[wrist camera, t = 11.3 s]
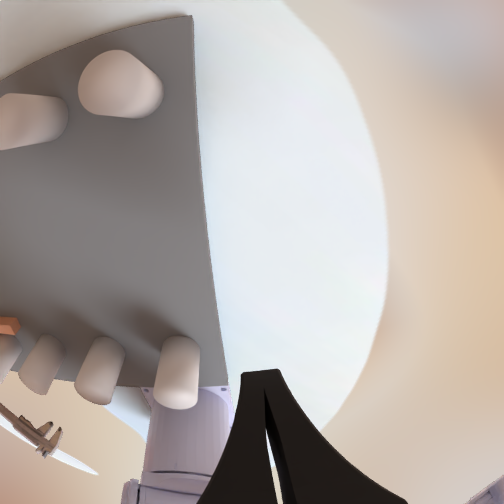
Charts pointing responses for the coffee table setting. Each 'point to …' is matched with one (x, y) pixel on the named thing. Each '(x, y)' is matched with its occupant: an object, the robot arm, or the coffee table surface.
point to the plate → (108, 220)
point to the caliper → (34, 432)
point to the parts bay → (9, 325)
